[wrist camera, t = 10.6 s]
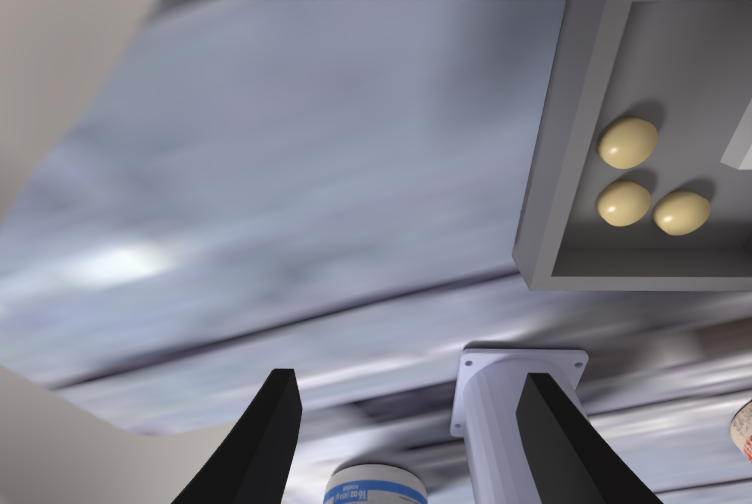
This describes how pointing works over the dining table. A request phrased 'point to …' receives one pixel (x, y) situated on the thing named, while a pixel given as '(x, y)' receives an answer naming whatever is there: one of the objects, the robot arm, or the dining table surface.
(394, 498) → the supplement tub
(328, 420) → the dining table surface
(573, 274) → the parts tub
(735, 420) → the teacup with lid
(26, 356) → the dining table surface
